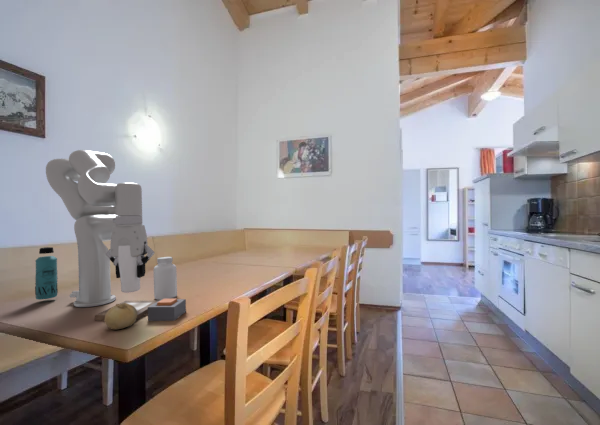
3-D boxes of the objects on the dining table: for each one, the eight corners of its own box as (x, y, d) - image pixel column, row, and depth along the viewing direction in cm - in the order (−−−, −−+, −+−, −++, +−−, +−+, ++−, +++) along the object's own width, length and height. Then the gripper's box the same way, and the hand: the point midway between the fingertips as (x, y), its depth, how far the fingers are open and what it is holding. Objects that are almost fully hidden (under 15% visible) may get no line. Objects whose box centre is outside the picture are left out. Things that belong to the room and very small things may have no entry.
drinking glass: (147, 288, 101) (145, 243, 101) (134, 293, 94) (132, 245, 94) (128, 288, 102) (126, 243, 102) (113, 293, 95) (112, 245, 95)
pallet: (94, 320, 91) (94, 314, 91) (125, 305, 106) (125, 300, 106) (137, 320, 90) (137, 314, 90) (162, 304, 105) (162, 300, 105)
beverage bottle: (31, 302, 111) (30, 248, 111) (51, 298, 117) (50, 246, 117) (42, 304, 108) (40, 248, 108) (62, 299, 115) (61, 246, 115)
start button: (157, 312, 91) (157, 302, 91) (164, 308, 96) (164, 298, 96) (171, 312, 91) (170, 302, 91) (177, 308, 95) (177, 298, 95)
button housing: (147, 320, 90) (147, 307, 90) (161, 311, 98) (161, 299, 98) (174, 320, 89) (174, 306, 89) (185, 311, 97) (185, 299, 97)
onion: (97, 330, 83) (97, 304, 83) (122, 320, 90) (122, 297, 90) (119, 334, 80) (119, 307, 80) (144, 323, 88) (143, 298, 88)
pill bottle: (169, 293, 120) (168, 255, 120) (181, 296, 116) (180, 257, 116) (149, 298, 114) (149, 258, 114) (161, 301, 109) (160, 259, 109)
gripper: (95, 222, 95) (96, 280, 95) (149, 220, 94) (150, 279, 94) (111, 221, 102) (112, 275, 102) (161, 220, 101) (162, 274, 101)
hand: (130, 276), depth 98 cm, fingers closed on drinking glass, 6 cm apart
